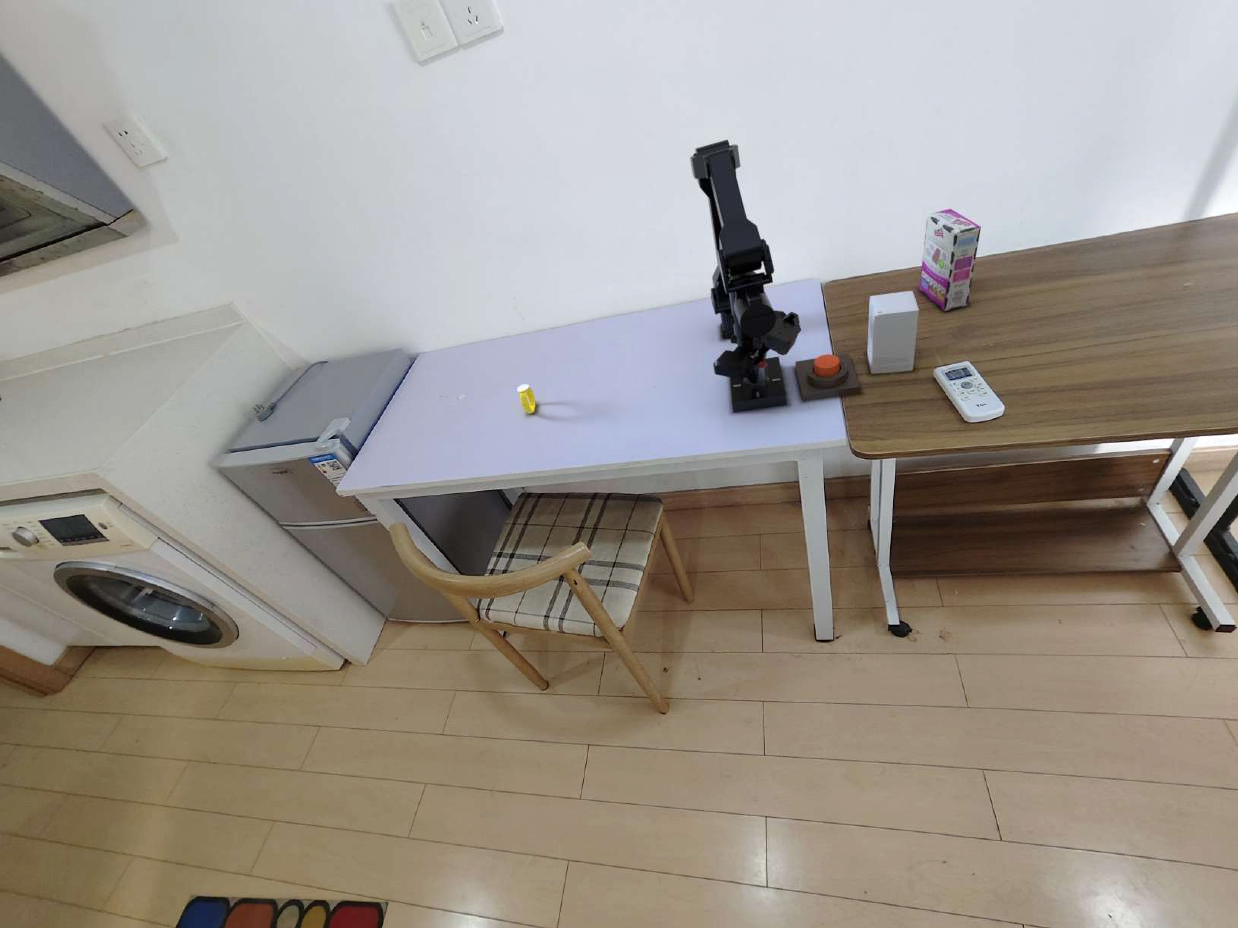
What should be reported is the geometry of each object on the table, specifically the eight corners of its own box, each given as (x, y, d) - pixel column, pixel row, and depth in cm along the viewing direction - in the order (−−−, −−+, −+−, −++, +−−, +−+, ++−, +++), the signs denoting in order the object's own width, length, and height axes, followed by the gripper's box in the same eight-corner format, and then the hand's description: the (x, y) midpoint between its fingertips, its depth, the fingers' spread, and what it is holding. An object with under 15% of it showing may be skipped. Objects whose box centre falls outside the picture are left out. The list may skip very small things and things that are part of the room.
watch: (536, 416, 127) (527, 394, 123) (524, 418, 127) (515, 397, 124) (539, 400, 131) (530, 379, 128) (528, 402, 132) (518, 381, 128)
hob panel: (730, 374, 120) (728, 363, 119) (779, 366, 118) (778, 355, 116) (733, 412, 111) (731, 402, 109) (786, 405, 109) (786, 394, 107)
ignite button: (812, 365, 111) (812, 356, 109) (837, 361, 110) (837, 352, 108) (816, 378, 107) (816, 369, 106) (841, 375, 106) (841, 366, 105)
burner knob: (743, 383, 113) (741, 363, 110) (747, 378, 114) (745, 358, 111) (765, 387, 110) (763, 367, 107) (769, 382, 111) (767, 362, 108)
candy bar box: (969, 306, 117) (983, 226, 106) (944, 312, 117) (955, 233, 107) (941, 283, 125) (951, 206, 115) (918, 289, 126) (925, 214, 115)
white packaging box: (913, 371, 107) (920, 310, 99) (870, 374, 109) (872, 315, 101) (908, 349, 112) (913, 289, 104) (866, 352, 114) (869, 294, 106)
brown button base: (795, 368, 116) (794, 353, 114) (848, 360, 114) (848, 345, 112) (803, 401, 108) (802, 386, 106) (859, 393, 106) (860, 378, 104)
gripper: (766, 343, 92) (773, 418, 102) (814, 285, 101) (816, 359, 112) (706, 334, 98) (718, 406, 109) (756, 280, 108) (763, 351, 118)
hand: (756, 380), depth 111 cm, fingers closed on burner knob, 2 cm apart
